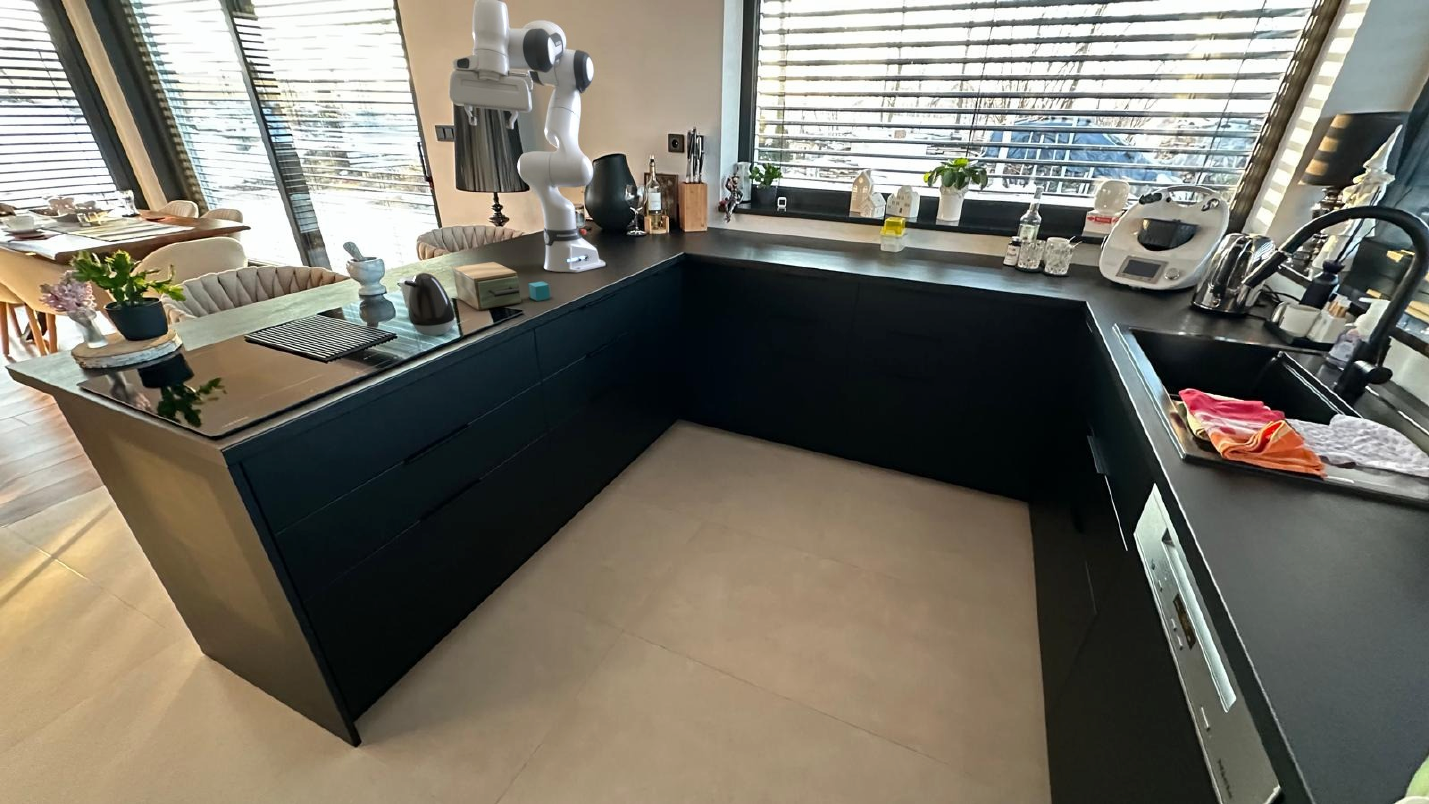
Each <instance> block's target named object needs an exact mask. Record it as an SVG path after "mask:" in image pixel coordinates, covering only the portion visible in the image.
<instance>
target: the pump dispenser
mask: <svg viewBox="0 0 1429 804" xmlns="http://www.w3.org/2000/svg"><path fill="white" fill-rule="evenodd" d="M404 284H405V285H408V286H411V288H410V293H409V313H408V318H409V322H410V323H411V324H412V326H413V328H414V329H415V330H416V331H417V332H418V333H419V334H421V335H423V336H427V337H436V336H442V335H445V334H447V333H448V332H449V331H451V329H452V327H453V326H454V323H455V321H454V320H455V319H456V316H455V310H454V308H453V305H452V302H451V299H450V298H449V295H448V293H447V292H446V290H445V288H444V286H443V285H442V283H441V282H440V280H439V279H438V278H437V277H436V276H435V275H433V274H432V273H429V272H420V273H418V274H416V275H415V278H414V279H413V281H407V280H405V281H404Z"/></svg>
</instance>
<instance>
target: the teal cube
mask: <svg viewBox="0 0 1429 804" xmlns="http://www.w3.org/2000/svg"><path fill="white" fill-rule="evenodd" d="M528 289H529V298H531V299H532V300H534V301H535V302H539V301H545V300H550V299H551V293H550V284H549V283H547V282H544V281H537V282H531V283H528Z"/></svg>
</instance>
